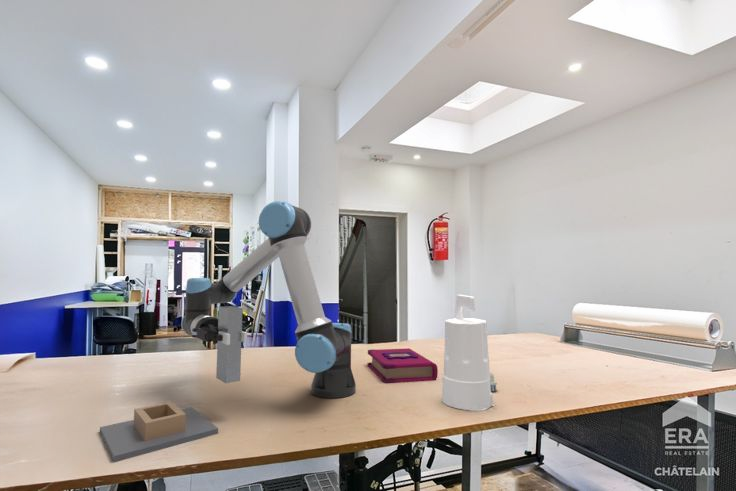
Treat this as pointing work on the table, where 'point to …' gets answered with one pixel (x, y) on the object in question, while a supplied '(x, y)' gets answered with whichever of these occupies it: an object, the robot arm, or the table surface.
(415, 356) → the book
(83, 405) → the table surface
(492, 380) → the toothbrush head
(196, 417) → the slotted post base
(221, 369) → the grey rectangular post
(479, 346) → the white pump bottle
